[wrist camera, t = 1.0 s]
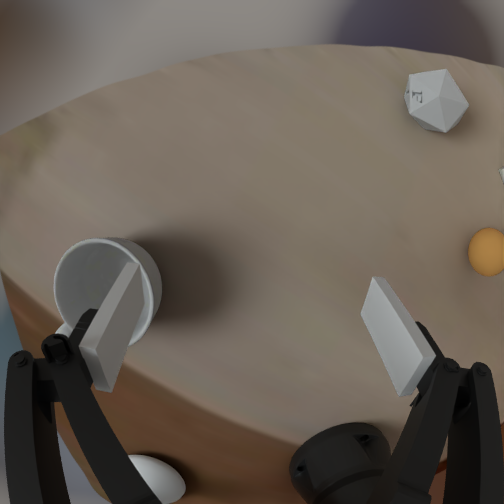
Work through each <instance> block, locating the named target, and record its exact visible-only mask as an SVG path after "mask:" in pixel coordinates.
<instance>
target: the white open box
mask: <svg viewBox="0 0 504 504" xmlns="http://www.w3.org/2000/svg"><path fill="white" fill-rule="evenodd" d="M499 172H500V175H501V178H502V181H503V183H504V166H503V167H502V168H500V169H499Z"/></svg>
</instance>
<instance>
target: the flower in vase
mask: <svg viewBox="0 0 504 504" xmlns="http://www.w3.org/2000/svg"><path fill="white" fill-rule="evenodd" d="M128 457H129V458H130V460H131V461H132V463H133V464H134V466H135V467H136V469H137V470H138V472H139V473H140V474H141V476H142V477H143V479H144V480H145V482H146V483H147V484H148V486H149V487H150V488H151V490H152V491H153V492H154V494H155V495H156V496H157V497H158V499H159V500H160V501H161V503H162V504H168V503H172V502H175V501H177V500H178V499H180V498H181V497H182V495H183V494H184V493H185V489H186V486H185V482H184V480H183V479H182V477H181V476H180V474H179V473H178V472H177V471H176V470H175V469H174V468H172V467H171V466H170V465H168V464H166V463H164V462H163V461H160V460H158V459H155V458H153V457H149V456H145V455H128Z"/></svg>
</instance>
